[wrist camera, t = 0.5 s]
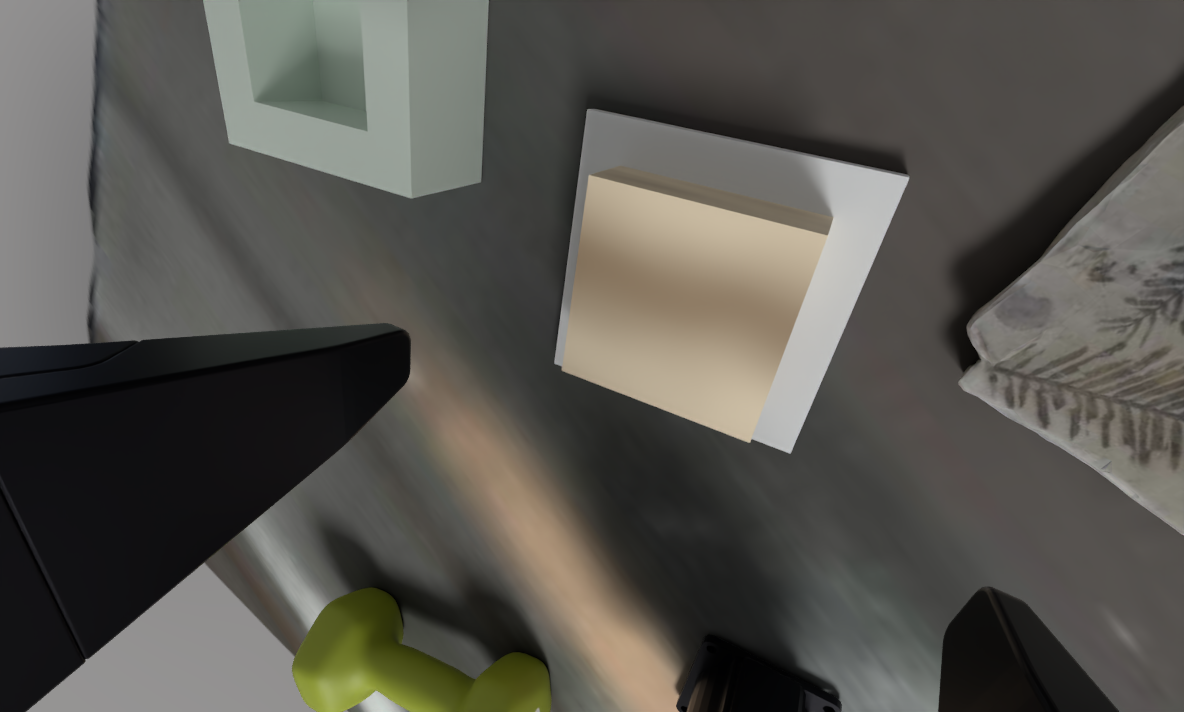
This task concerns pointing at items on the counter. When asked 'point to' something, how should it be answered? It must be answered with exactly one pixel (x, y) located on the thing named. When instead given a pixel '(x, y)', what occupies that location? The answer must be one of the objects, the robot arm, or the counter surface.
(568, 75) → the counter surface
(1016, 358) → the crumpled grey cloth
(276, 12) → the dish
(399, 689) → the dumbbell
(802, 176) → the mat
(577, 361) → the lid
